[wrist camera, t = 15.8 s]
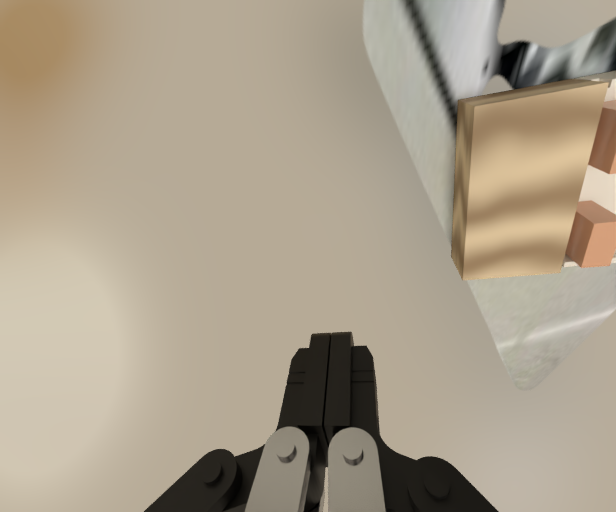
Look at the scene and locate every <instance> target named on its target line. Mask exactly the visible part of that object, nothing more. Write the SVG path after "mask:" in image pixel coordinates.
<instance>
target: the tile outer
mask: <svg viewBox="0 0 616 512" xmlns="http://www.w3.org/2000/svg"><path fill="white" fill-rule="evenodd" d="M615 250H616V215H615V214H614V213H612V212H610V211H609V210H607V209H605V208H604V207H602V206H600V205H599V204H597V203H595V202H594V201H592V200H590V201H581V202H578V205H577V209H576V213H575V217H574V221H573V225H572V229H571V233H570V237H569V240H568V244H567V248H566V252H565V253H566V254H567V255H568V256H569V257H570V258H571V259H572V260H573V261H574V262H575V263H576V264H578V265H579V266H580V267H581V268H585V267H599V266H610V264H611V261H612V258H613V255H614V252H615Z"/></svg>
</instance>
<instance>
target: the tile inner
mask: <svg viewBox="0 0 616 512" xmlns="http://www.w3.org/2000/svg"><path fill="white" fill-rule="evenodd" d="M588 165H590V166H592V167H594V168H596V169H599V170H601V171H603V172H605V173H608V174H616V100H612V101H606V102H604V104H603V108H602V112H601V115H600V119H599V123H598V127H597V131H596V135H595V139H594V143H593V147H592V151H591V155H590V158H589V162H588Z"/></svg>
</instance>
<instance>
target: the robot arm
mask: <svg viewBox="0 0 616 512" xmlns="http://www.w3.org/2000/svg"><path fill="white" fill-rule="evenodd" d="M325 467H328V512H498V511H497V510H496V509H495V508H494V507H493V506H492V505H491V504H490V503H489V502H488V501H487V500H486V499H485V497H484V496H483V495H481V494H480V492H479V491H477V490H476V488H475V487H474V486H473V485H472V484H471V483H469V481H468V480H467V479H466V478H465V477H464V476H463V475H462V474H461V473H460V472H459V471H458V470H457V469H456V468H455V467H454V466H452V465H451V464H450V463H448V462H447V461H445V460H443V459H441V458H437V457H432V456H431V457H423V458H420V459H418V460H414V459H412V458H409V457H406V456H404V455H401V454H399V453H396V452H395V451H393V450H392V449H390V448H389V447H388V446H387V445H386V444H385V443H384V441H383V440H382V438H381V436H380V432H379V416H378V401H377V387H376V377H375V370H374V362H373V356H372V355H371V353H370V351H369V349H368V348H367V346H354V343H353V336H352V332H337V333H318V334H312V335H311V341H310V346H309V348H300V349H298V351H297V352H296V354H295V355H294V357H293V358H292V360H291V365H290V370H289V375H288V379H287V385H286V389H285V394H284V398H283V403H282V408H281V413H280V418H279V422H278V426H277V429H276V431H275V432H274V433H273V434H272V435H271V436H270V437H269V439H268V440H267V442H266V444H264V445H263V446H262V447H260V448H258V449H256V450H253V451H250V452H247V453H244V454H241V455H239V456H235V457H234V455H233V454H232V453H231V452H230V451H227V450H225V449H216V450H213V451H211V452H209V453H207V454H206V455H204V456H203V457H202V458H201V459H200V460H199V461H198V462H197V463H196V464H194V465H193V466H192V467H191V468H190V469H189V470H188V471H187V472H186V473H185V474H184V475H183V476H182V477H180V478H179V479H178V480H177V481H176V482H175V483H174V484H173V485H172V486H171V487H170V488H169V489H168V490H167V491H165V492H164V493H163V494H162V495H161V496H160V497H159V498H158V499H157V500H156V501H155V502H154V503H153V504H151V505H150V506H149V507H148V508H147V509H146V510H145V511H144V512H323V506H324V498H325V490H324V480H325V479H324V478H325Z"/></svg>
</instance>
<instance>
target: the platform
mask: <svg viewBox="0 0 616 512" xmlns="http://www.w3.org/2000/svg"><path fill="white" fill-rule="evenodd" d="M608 84H609V82H601V81H590V80H579V79H568V80H563V81H557V82H552V83H546V84H541V85H536V86H530V87H525V88H520V89H514V90H509V91H504V92H499V93H493V94H487V95H482V96H477V97H471V98H466V99H461V100H458V112H457V135H456V158H455V181H454V204H453V227H452V250H451V257H452V259H453V261H454V264H455V266H456V268H457V270H458V271H459V274H460V276H461V278H462V280H473V279H486V278H499V277H512V276H526V275H539V274H552V273H560V272H561V268H562V264H563V260H564V256H565V252H566V248H567V244H568V240H569V237H570V233H571V229H572V225H573V221H574V217H575V213H576V209H577V205H578V201H579V198H580V194H581V190H582V186H583V182H584V178H585V174H586V170H587V166H588V162H589V158H590V155H591V151H592V147H593V143H594V139H595V135H596V131H597V127H598V123H599V119H600V115H601V112H602V108H603V104H604V100H605V96H606V92H607V88H608Z"/></svg>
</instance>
